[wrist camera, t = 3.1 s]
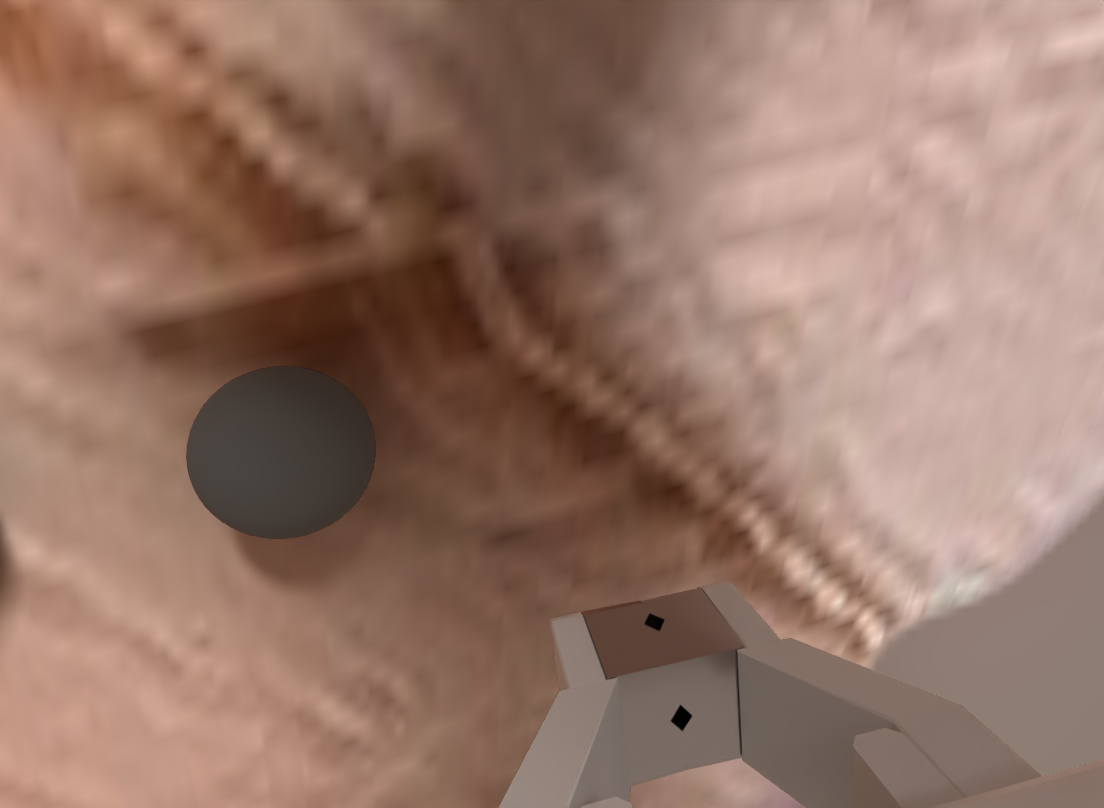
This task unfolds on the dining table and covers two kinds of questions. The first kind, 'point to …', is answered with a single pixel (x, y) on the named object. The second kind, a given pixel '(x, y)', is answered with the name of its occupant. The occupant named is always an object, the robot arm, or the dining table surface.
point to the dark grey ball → (281, 452)
